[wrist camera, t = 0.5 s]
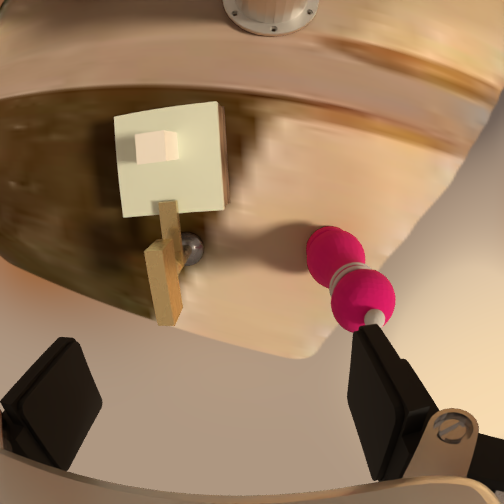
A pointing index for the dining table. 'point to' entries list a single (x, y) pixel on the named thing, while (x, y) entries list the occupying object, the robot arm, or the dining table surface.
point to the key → (167, 265)
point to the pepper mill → (349, 279)
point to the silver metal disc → (193, 247)
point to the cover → (170, 159)
